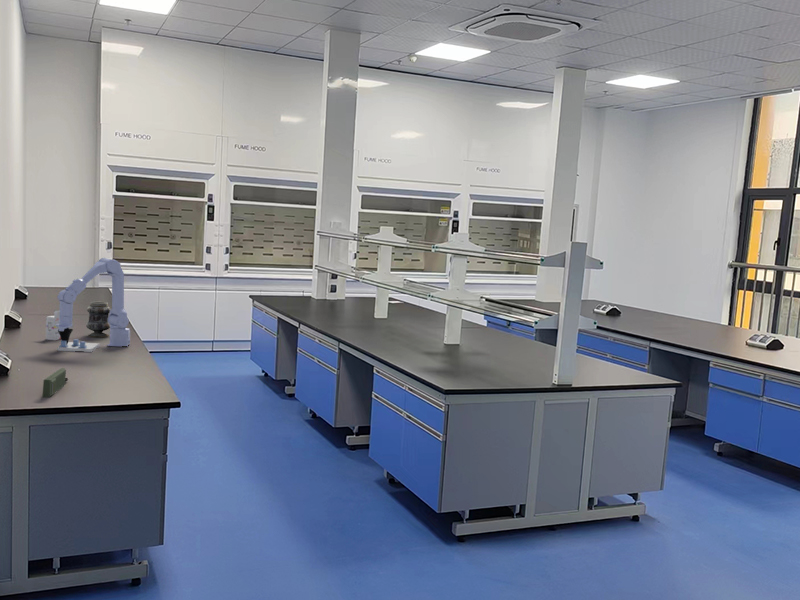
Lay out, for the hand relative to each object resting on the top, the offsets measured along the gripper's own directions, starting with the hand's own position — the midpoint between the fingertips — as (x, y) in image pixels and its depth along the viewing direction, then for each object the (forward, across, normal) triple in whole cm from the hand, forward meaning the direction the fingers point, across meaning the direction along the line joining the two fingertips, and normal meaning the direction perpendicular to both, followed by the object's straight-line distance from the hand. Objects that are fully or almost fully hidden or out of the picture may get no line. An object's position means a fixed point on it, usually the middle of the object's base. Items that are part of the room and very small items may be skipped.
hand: (64, 344), depth 342 cm
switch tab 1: (+1, +2, 0) cm, 2 cm away
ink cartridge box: (+3, -28, -12) cm, 30 cm away
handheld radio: (+3, +81, +19) cm, 83 cm away
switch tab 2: (+1, -3, +4) cm, 5 cm away
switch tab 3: (+1, +2, +8) cm, 9 cm away
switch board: (+2, -4, +6) cm, 7 cm away
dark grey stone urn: (+3, -44, +5) cm, 44 cm away
